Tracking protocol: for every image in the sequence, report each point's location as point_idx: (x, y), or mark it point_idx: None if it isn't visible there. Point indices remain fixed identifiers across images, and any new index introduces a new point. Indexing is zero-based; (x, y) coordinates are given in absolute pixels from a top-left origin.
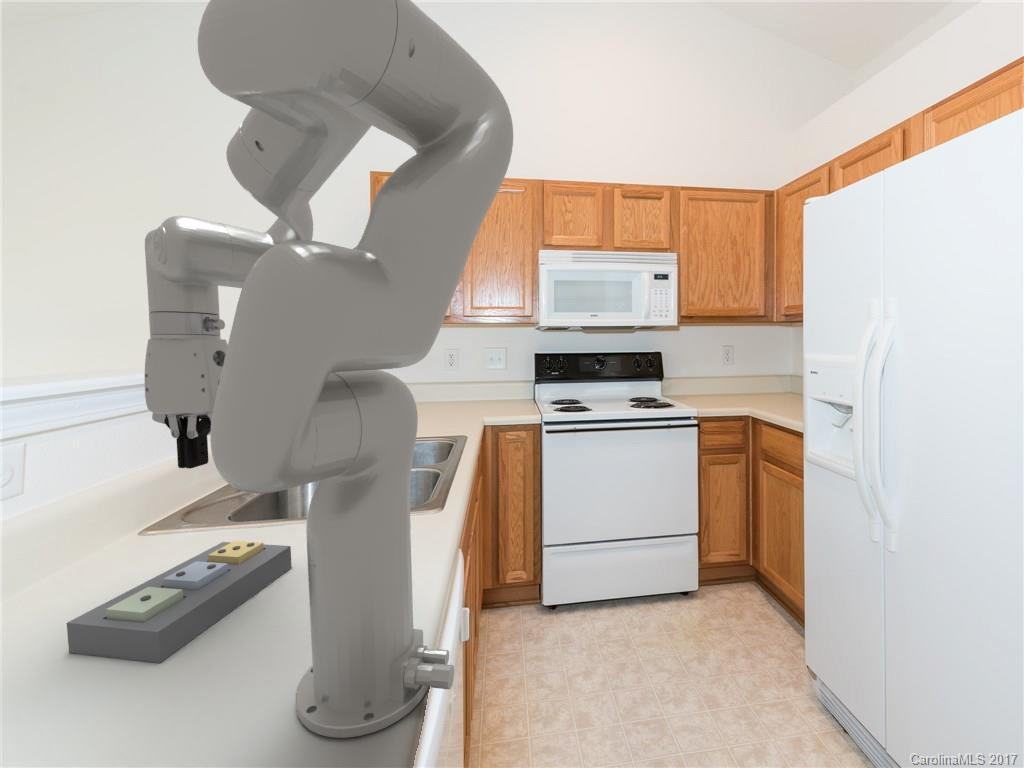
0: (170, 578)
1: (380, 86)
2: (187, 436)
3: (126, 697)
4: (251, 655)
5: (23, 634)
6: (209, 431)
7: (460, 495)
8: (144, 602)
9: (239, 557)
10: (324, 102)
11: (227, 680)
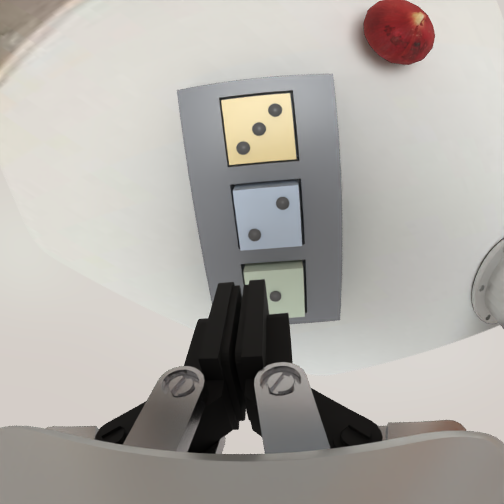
0: (251, 247)
1: None
2: (231, 409)
3: (344, 333)
4: (414, 271)
5: (137, 294)
6: (317, 395)
7: None
8: (282, 301)
9: (295, 156)
10: None
11: (412, 300)
